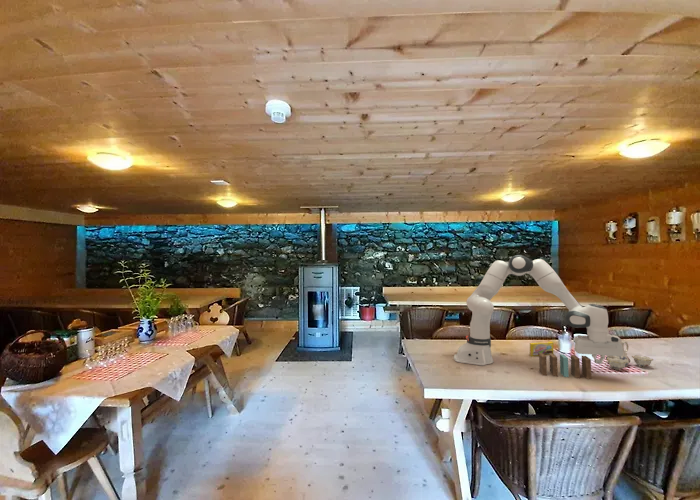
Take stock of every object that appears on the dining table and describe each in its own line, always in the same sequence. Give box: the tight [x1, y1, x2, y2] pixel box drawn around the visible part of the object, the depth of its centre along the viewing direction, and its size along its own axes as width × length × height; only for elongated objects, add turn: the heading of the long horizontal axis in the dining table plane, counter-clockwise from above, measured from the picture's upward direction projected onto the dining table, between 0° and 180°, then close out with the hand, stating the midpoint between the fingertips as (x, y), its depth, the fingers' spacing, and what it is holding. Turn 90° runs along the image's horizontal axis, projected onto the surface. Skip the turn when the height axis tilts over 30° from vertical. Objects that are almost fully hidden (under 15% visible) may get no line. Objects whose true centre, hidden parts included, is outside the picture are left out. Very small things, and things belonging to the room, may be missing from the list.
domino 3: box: [570, 354, 581, 379], centre depth 167 cm, size 2×6×10 cm, turn 163°
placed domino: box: [559, 353, 570, 378], centre depth 169 cm, size 2×6×10 cm, turn 163°
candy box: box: [529, 341, 554, 358], centre depth 202 cm, size 16×2×8 cm, turn 101°
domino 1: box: [538, 353, 548, 376], centre depth 171 cm, size 2×6×10 cm, turn 163°
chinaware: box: [604, 335, 654, 371], centre depth 180 cm, size 28×17×17 cm, turn 106°
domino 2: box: [548, 353, 559, 377], centre depth 170 cm, size 2×6×10 cm, turn 163°
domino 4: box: [581, 355, 592, 380], centre depth 166 cm, size 2×6×10 cm, turn 163°
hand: (598, 363), depth 164 cm, fingers closed
